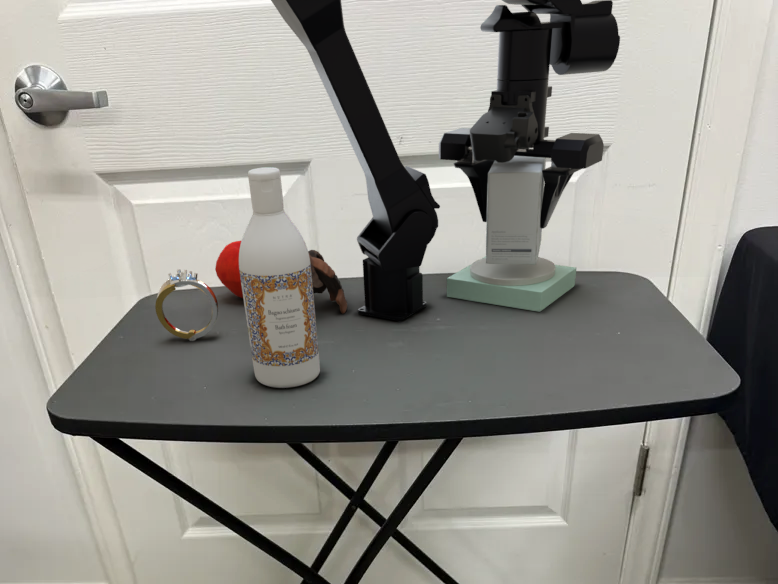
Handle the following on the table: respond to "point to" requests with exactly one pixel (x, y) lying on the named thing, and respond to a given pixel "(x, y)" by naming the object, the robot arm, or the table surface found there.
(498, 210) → the cosmetics box
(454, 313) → the table surface
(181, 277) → the ring
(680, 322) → the table surface
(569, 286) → the scale
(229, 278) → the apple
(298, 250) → the bath foam
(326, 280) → the brown curved piece
